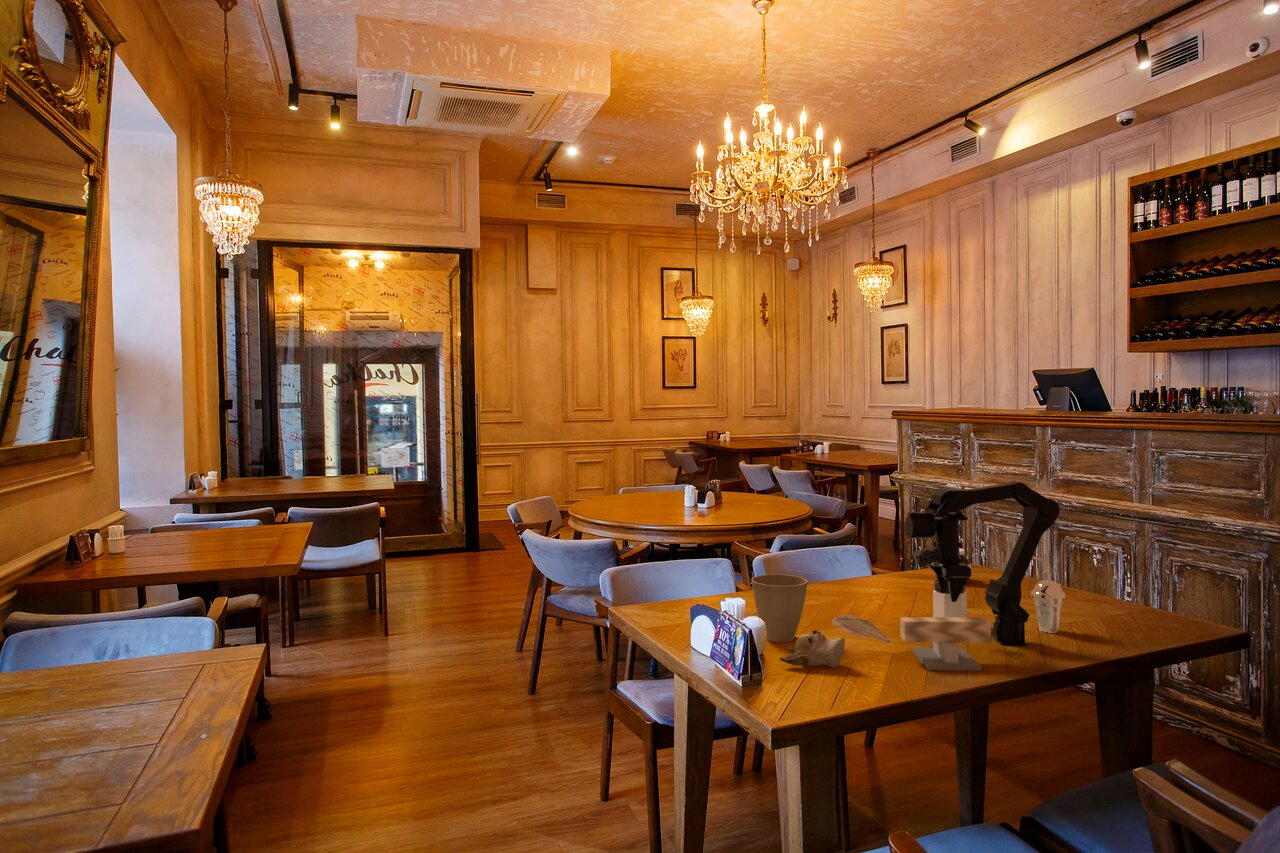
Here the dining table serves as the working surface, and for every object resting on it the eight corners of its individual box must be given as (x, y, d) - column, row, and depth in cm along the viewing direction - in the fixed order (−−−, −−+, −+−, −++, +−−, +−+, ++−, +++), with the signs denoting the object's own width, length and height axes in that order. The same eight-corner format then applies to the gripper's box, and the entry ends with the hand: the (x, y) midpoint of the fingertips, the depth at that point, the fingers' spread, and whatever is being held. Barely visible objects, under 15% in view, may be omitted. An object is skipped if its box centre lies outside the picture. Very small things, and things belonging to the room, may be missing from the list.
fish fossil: (905, 642, 199) (905, 638, 199) (872, 649, 196) (871, 644, 196) (852, 616, 224) (851, 612, 224) (821, 622, 221) (821, 618, 221)
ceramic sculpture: (841, 637, 174) (776, 635, 179) (844, 674, 174) (779, 672, 179) (846, 625, 184) (785, 624, 189) (849, 661, 184) (787, 658, 189)
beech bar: (984, 637, 184) (984, 617, 184) (990, 642, 180) (990, 621, 180) (900, 637, 185) (900, 617, 185) (904, 642, 181) (904, 621, 181)
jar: (973, 626, 212) (972, 583, 211) (950, 629, 209) (949, 586, 209) (950, 618, 220) (949, 577, 220) (927, 621, 217) (926, 579, 217)
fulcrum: (961, 651, 189) (961, 632, 189) (981, 670, 175) (981, 649, 175) (912, 651, 190) (912, 631, 190) (928, 670, 176) (927, 648, 176)
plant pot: (778, 650, 193) (777, 588, 193) (741, 636, 206) (740, 578, 205) (820, 640, 201) (819, 580, 201) (782, 627, 213) (781, 571, 213)
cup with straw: (1045, 636, 201) (1044, 561, 201) (1022, 626, 210) (1021, 555, 210) (1073, 634, 202) (1072, 559, 202) (1050, 625, 211) (1049, 553, 211)
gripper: (906, 532, 206) (907, 589, 206) (925, 543, 187) (926, 606, 187) (948, 532, 205) (949, 589, 205) (971, 543, 186) (972, 606, 186)
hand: (948, 597), depth 196 cm, fingers open, 9 cm apart
